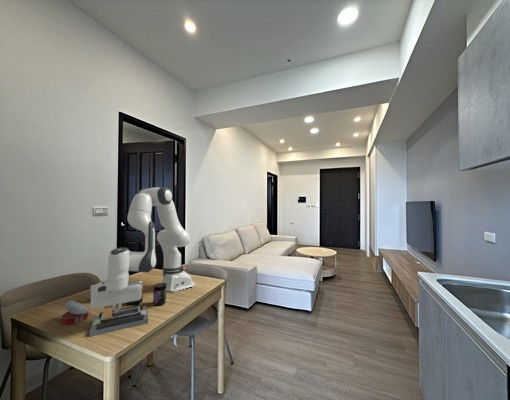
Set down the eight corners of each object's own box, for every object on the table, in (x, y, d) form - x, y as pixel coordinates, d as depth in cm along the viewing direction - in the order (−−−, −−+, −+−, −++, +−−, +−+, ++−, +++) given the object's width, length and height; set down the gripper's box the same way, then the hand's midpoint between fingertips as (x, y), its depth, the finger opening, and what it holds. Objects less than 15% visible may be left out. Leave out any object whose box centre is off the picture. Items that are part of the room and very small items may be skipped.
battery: (132, 300, 122) (132, 283, 122) (142, 301, 121) (143, 284, 121) (126, 304, 118) (127, 286, 118) (137, 305, 117) (138, 287, 117)
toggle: (112, 317, 100) (112, 304, 100) (111, 321, 96) (112, 307, 97) (104, 318, 98) (105, 305, 99) (103, 322, 95) (104, 309, 95)
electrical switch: (90, 303, 118) (91, 286, 119) (88, 301, 121) (88, 284, 122) (110, 298, 125) (110, 281, 126) (107, 296, 128) (107, 280, 129)
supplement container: (152, 302, 121) (153, 284, 121) (164, 300, 124) (165, 282, 124) (153, 307, 115) (154, 288, 115) (166, 304, 118) (167, 286, 119)
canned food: (75, 324, 105) (85, 302, 110) (88, 326, 102) (98, 303, 107) (50, 323, 96) (62, 299, 101) (63, 325, 93) (75, 300, 98)
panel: (146, 310, 112) (146, 301, 112) (148, 322, 100) (148, 313, 100) (94, 320, 100) (94, 311, 101) (89, 336, 88) (90, 325, 89)
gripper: (142, 277, 108) (141, 305, 107) (92, 284, 97) (90, 315, 96) (143, 281, 102) (142, 310, 102) (90, 289, 91) (88, 321, 91)
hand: (116, 313), depth 99 cm, fingers closed
